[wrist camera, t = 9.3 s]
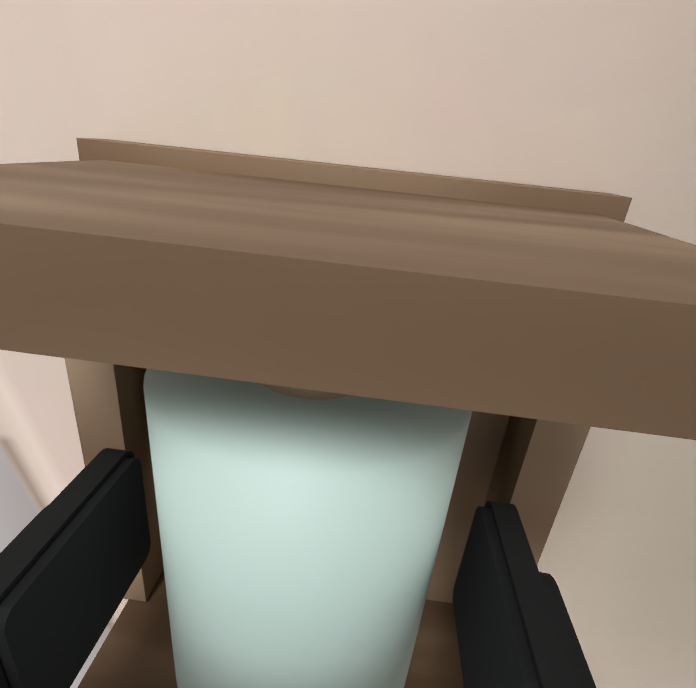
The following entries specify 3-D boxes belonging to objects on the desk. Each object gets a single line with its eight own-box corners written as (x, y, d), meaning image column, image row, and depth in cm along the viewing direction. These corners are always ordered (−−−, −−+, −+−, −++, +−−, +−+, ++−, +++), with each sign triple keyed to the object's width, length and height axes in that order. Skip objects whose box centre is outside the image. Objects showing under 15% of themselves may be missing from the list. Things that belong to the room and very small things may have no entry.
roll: (219, 287, 11) (51, 418, 6) (456, 316, 11) (514, 484, 5) (226, 534, 15) (125, 759, 9) (405, 562, 14) (409, 812, 9)
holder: (102, 139, 11) (-468, 121, 4) (610, 193, 10) (1118, 299, 3) (153, 563, 17) (-23, 871, 10) (475, 611, 17) (540, 974, 9)
